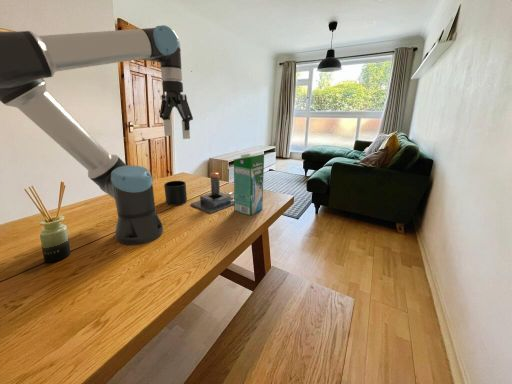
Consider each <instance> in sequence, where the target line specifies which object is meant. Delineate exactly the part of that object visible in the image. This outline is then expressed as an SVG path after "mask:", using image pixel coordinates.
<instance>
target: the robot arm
mask: <svg viewBox="0 0 512 384" xmlns="http://www.w3.org/2000/svg"><path fill="white" fill-rule="evenodd" d="M181 52H182V51H181V44H180V38H179V37H178V36H177V33H176V32H175V31H174V30H173V28H171V26H168V25H165V24H163V25H157V26H155V27H150V28H136V29H135V28H134V29H131V28H130V29H121V30H120V29H119V30H118V29H117V30H107V31H105V30H104V31H89V32H88V31H87V32H78V33H77V32H75V33H62V34H61V33H59V34H46V35H38V34H36V33H34V32H32V31H31V30H25V31H23V30H21V31H19V30H18V31H0V102H1V103H2V104H3V105H4V106H8V107H13V108H17V109H18V110H19V111H20V112H21V113H22V114H24V115H25V116H26V117H27V118H28V119H29V120H31V121H32V122H33V123H34V124H35V125H36V126H37V127H38V128H40V130H42V131H43V132H44V133H45V134H46V135H48V137H50V139H52V140H53V141H54V142H56V144H58V145H59V146H60V147H61V148H62V149H63V150H64V151H66V153H67V154H69V155H70V156H71V157H72V158H73V159H74V160H76V161H77V162H78V163H79V164H80V165H81V166H83V167H84V168H85V169H86V170H87V177H88V178H89V179H90V180H91V181H92V182H94V184H96V185H97V186H98V187H99V188H100V190H101V191H102V192H104V193H105V194H108V195H109V196H111V198H113V199H114V201H115V206H116V212H117V221H116V225H115V231H114V236H115V240H116V241H117V243H119V244H120V245H124V246H125V245H126V246H136V245H138V246H139V245H142V244H146V243H150V242H152V241H155V240H157V239H158V238H160V237H161V236H162V235H163V233H164V226H163V223H162V221H161V219H160V217H159V215H158V213H157V211H156V203H155V194H154V193H155V192H154V185H153V182H154V181H153V178H152V173H151V171H150V169H148V168H146V167H144V166H140V165H139V166H137V165H131V164H130V165H127V164H126V163H125V162H124V161H123V160H122V159H121V157H119V156H118V155H117V154H111V153H109V152H108V151H107V150H106V149H105V148H104V147H103V146H102V145H101V144H100V143H99V142H98V141H97V139H95V138H94V137H93V136H92V135H91V134H90V133H89V132H88V131H87V130H86V128H85V127H84V126H82V124H80V123H79V122H78V121H77V120H76V118H74V116H73V115H71V114H70V113H69V112H68V110H67V109H65V107H64V106H62V104H61V103H60V102H58V101H57V100H56V99H55V97H54V96H53V95H51V93H50V92H49V91H48V89H47V82H46V80H45V79H47V78H53V77H54V75H55V73H56V72H61V71H69V70H74V69H82V68H89V67H95V66H102V65H103V66H104V65H109V64H115V63H122V62H123V63H124V62H129V61H130V62H131V61H136V60H137V61H138V60H139V61H147V62H156V63H160V72H161V73H160V74H161V75H160V76H161V80H163V81H162V83H161V85H162V91H163V92H164V93H166V94H161V104H160V111H159V118H160V119H162V121H163V130H164V131H163V132H164V136H165V137H168V136H169V137H170V136H172V127H171V114H172V111H173V108H174V107H175V108H176V110H177V111H178V114H179V116H180V118H181V119H182V120H181V130H182V139H183V140H188V139H190V138H191V136H190V134H191V133H190V130H191V129H190V122H191V121H193V120H194V119H193V115H192V111H191V109H190V105H189V102H188V97H187V95H186V94H184V93H183V92H184V86H183V85H184V83H183V82H182V81H183V73H182V72H183V71H182V58H181V57H182V56H181Z"/></svg>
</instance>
